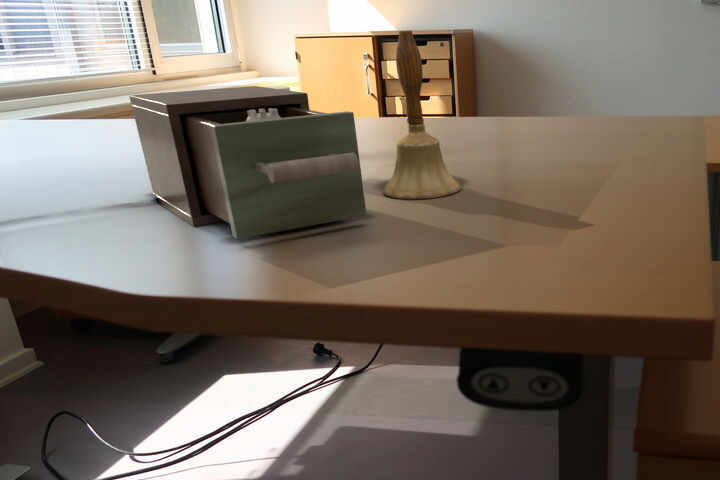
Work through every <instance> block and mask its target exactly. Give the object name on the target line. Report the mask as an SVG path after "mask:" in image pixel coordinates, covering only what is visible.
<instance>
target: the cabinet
mask: <svg viewBox="0 0 720 480" xmlns="http://www.w3.org/2000/svg"><path fill="white" fill-rule="evenodd" d="M266 87H267V86H260V85H259V86H258V85H249V86H235V87H222V88H208V89H196V90H195V89H194V90H182V91H169V92H156V93H141V94H129V95H128V97H129V101H130V104H131V108H132V114H133V117H134V121H135V125H136V129H137V133H138V137H139V142H140V147H141V150H142V154H143V158H144V162H145V165H146V169H147V174H148V177H149V181H150V186H151V189H152V194H153V196H155V198H154V202H156V203H157V204H159V205H160V206H162V207H163V208H165V209H166V210H167V211H169V212H171V213H172V214H174V215H175V216H177V217H179V218H180V219H181V220H183V221H184V222H186V223H187V224H190V225H191V226H192V227H194V228H196V227H201V226H206V225H207V226H208V225H214V224H220V223H224V222H226V221H224V220H223V219H221V218H219V217H217V216H216V215H214V214H212V213H210V212H209V211H207V210H205V209H203V208H202V207H200V206H199V202H198V197H197V193H196V188H195V184H194V179H193V175H192V170H191V166H190V161H189V157H188V152H187V148H186V143H185V139H184V134H183V130H182V125H181V121H180V115H191V114H202V113H213V112H224V111H235V110H246V109H257V108H268V107H279V106H289V107H295V108H300V109H306V110H310V109H311V108H310V104H309V102H310V101H309V96H308V95H309V94H308V93H307V92H301V91H297V90H296V91H295V90H290V91H288V90H281V89H273V88H266Z"/></svg>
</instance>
